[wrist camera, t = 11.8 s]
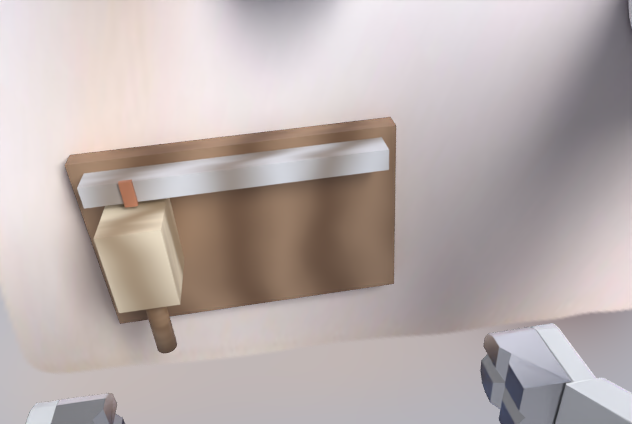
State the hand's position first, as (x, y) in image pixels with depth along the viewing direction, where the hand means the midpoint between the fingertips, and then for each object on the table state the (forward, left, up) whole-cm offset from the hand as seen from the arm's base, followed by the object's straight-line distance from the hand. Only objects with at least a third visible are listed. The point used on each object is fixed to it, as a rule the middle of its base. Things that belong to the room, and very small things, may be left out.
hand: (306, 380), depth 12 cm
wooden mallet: (+9, +14, -26) cm, 31 cm away
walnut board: (+2, +13, -27) cm, 30 cm away
